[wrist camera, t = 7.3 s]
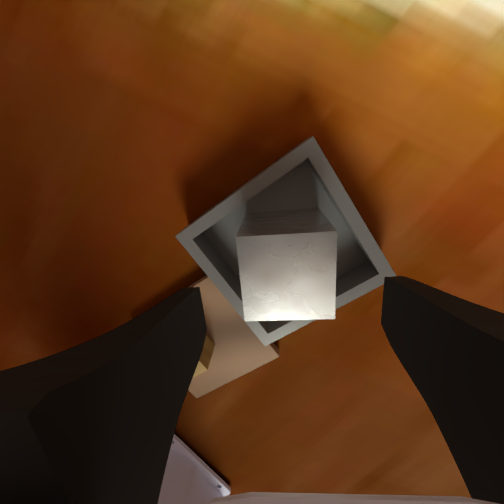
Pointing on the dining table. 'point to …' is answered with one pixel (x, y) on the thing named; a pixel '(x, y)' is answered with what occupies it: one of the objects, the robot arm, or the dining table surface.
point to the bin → (277, 199)
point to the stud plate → (225, 343)
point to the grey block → (287, 265)
